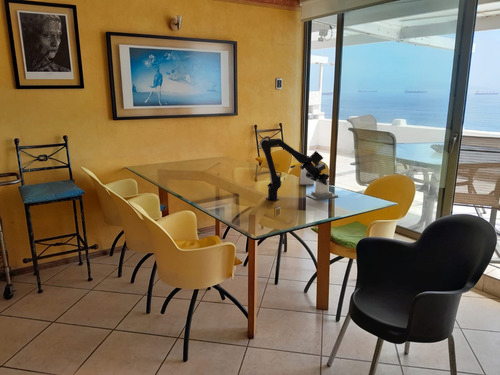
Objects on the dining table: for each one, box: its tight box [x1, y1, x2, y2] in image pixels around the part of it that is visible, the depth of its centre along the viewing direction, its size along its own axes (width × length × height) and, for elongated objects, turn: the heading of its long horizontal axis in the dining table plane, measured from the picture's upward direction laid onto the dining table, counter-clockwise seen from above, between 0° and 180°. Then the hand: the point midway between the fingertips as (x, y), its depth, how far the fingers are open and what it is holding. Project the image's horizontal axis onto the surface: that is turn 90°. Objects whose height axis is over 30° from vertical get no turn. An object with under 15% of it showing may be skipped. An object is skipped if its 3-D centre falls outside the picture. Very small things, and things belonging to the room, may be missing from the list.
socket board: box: [305, 190, 339, 201], centre depth 247 cm, size 12×18×3 cm, turn 116°
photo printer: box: [299, 168, 315, 185], centre depth 279 cm, size 10×4×12 cm, turn 90°
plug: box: [314, 179, 330, 194], centre depth 246 cm, size 5×7×10 cm
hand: (323, 183), depth 246 cm, fingers open, 5 cm apart
